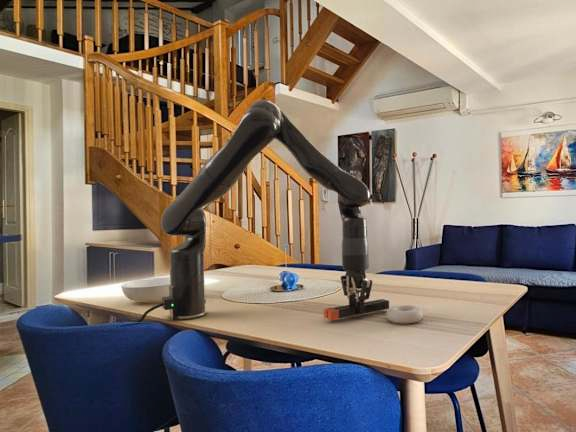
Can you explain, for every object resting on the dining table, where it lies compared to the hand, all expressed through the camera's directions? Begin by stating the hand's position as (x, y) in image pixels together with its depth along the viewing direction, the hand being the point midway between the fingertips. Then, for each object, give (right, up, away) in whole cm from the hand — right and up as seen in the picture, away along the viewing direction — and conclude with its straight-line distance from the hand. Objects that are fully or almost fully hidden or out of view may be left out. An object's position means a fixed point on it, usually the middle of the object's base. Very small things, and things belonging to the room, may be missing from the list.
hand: (356, 312), depth 120 cm
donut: (+14, -1, -5) cm, 14 cm away
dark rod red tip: (0, 0, 0) cm, 1 cm away
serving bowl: (-73, -3, +29) cm, 79 cm away
